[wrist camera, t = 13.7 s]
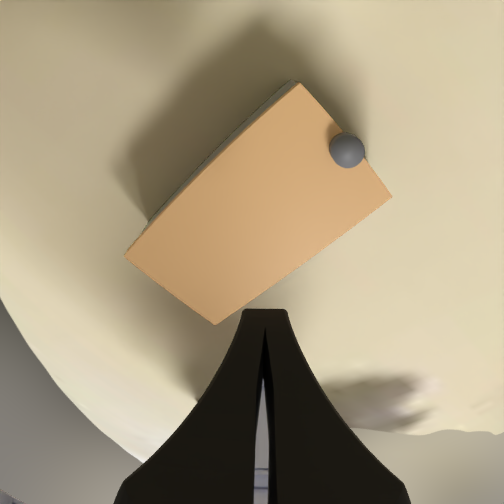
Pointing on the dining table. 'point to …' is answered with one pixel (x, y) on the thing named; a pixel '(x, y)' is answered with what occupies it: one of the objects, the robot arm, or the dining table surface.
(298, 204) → the cover
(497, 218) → the dining table surface
